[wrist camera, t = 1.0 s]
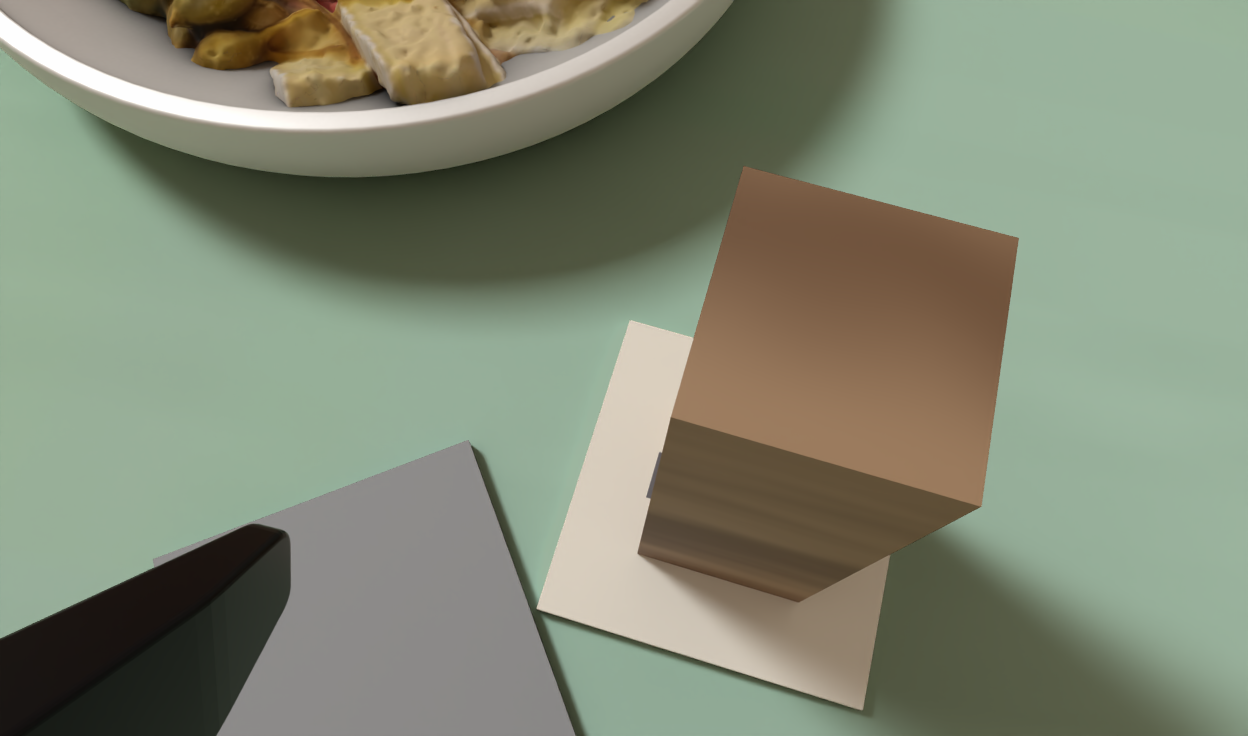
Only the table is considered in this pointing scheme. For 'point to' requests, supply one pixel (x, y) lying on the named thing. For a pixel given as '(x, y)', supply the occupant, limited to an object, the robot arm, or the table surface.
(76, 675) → the robot arm
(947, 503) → the walnut block
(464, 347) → the table surface
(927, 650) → the table surface
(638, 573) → the tile
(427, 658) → the rest mat
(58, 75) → the bowl
